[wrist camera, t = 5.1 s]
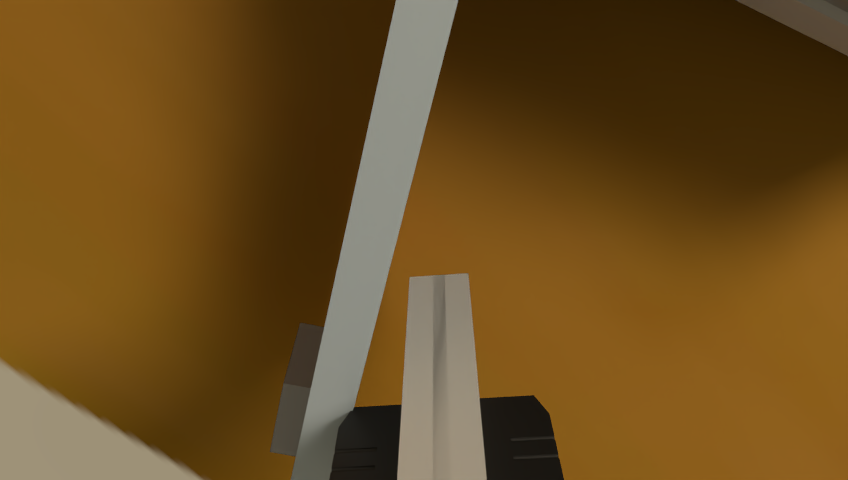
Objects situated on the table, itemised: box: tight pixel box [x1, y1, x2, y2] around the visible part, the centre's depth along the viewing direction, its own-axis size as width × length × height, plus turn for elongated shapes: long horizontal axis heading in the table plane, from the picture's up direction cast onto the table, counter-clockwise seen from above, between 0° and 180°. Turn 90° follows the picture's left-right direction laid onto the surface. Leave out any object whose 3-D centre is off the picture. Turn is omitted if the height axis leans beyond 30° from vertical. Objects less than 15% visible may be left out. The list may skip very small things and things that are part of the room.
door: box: [270, 0, 458, 480], centre depth 15 cm, size 13×2×8 cm, turn 166°
